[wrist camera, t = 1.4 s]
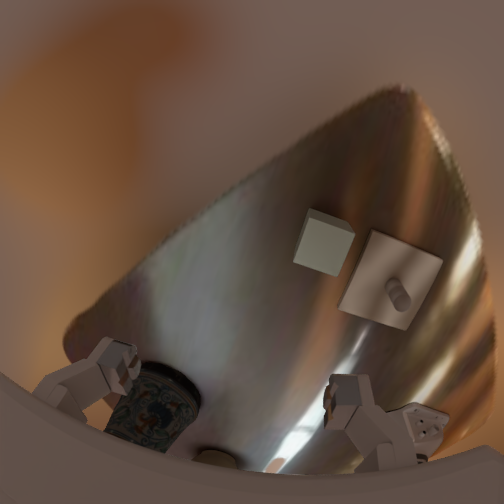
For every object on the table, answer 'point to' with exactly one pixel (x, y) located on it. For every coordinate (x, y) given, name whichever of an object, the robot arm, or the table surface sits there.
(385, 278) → the post stand
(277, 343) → the table surface
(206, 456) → the planter bowl
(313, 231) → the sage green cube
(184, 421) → the beer stein
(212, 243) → the table surface
